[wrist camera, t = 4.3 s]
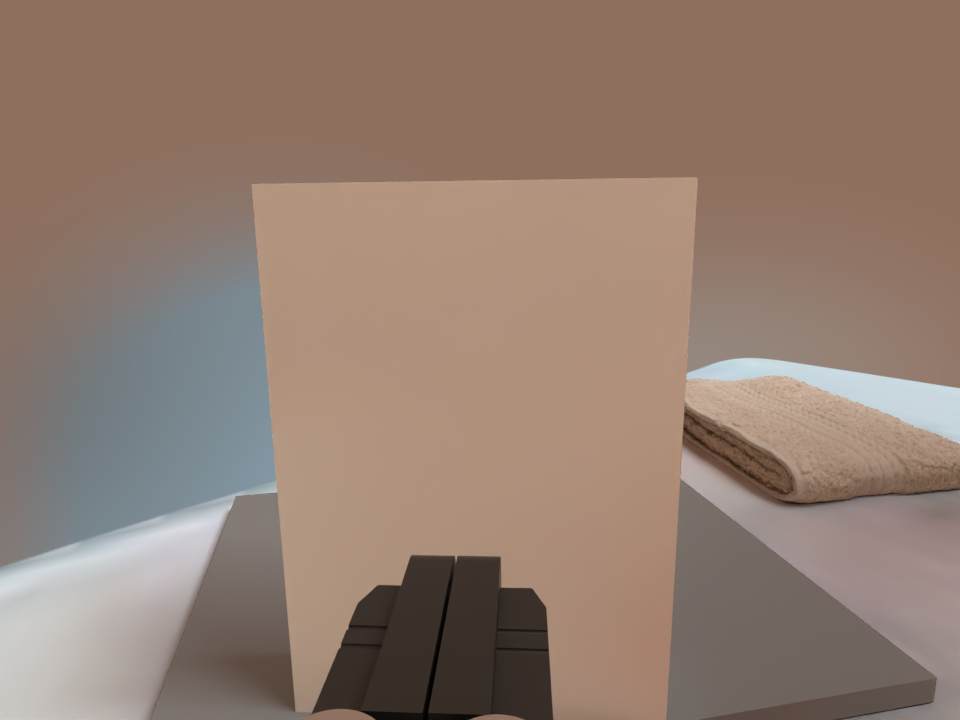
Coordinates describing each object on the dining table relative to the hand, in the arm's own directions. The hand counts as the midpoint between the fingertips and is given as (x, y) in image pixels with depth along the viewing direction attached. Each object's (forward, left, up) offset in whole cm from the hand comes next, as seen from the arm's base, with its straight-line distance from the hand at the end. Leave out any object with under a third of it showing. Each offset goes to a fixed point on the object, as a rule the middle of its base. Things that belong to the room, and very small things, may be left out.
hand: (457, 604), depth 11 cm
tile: (-2, -6, -7) cm, 9 cm away
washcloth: (-25, -25, -8) cm, 36 cm away
